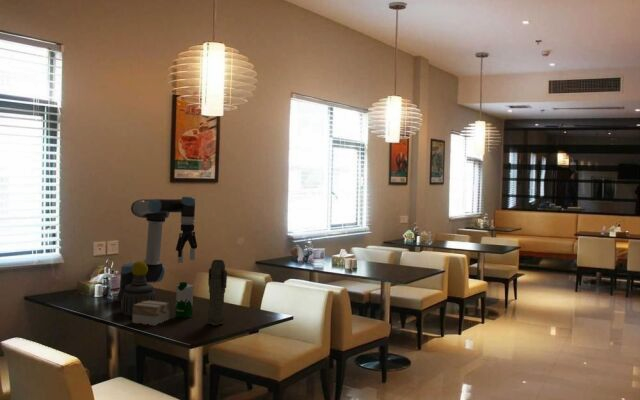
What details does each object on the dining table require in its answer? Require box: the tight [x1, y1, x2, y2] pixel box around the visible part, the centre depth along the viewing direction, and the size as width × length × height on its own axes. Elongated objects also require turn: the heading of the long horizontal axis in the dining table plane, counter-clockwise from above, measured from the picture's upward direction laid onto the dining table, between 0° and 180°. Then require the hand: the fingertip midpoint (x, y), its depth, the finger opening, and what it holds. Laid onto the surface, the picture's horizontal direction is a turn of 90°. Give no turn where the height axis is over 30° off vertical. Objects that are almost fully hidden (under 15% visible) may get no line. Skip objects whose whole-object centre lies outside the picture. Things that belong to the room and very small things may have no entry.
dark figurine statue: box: [207, 259, 228, 324], centre depth 319 cm, size 9×12×35 cm
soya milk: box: [174, 281, 195, 319], centre depth 331 cm, size 9×9×20 cm
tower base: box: [131, 312, 170, 326], centre depth 319 cm, size 14×14×5 cm
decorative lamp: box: [120, 260, 157, 317], centre depth 336 cm, size 19×19×30 cm
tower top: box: [133, 300, 171, 317], centre depth 318 cm, size 14×14×5 cm
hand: (186, 261), depth 330 cm, fingers open, 13 cm apart
